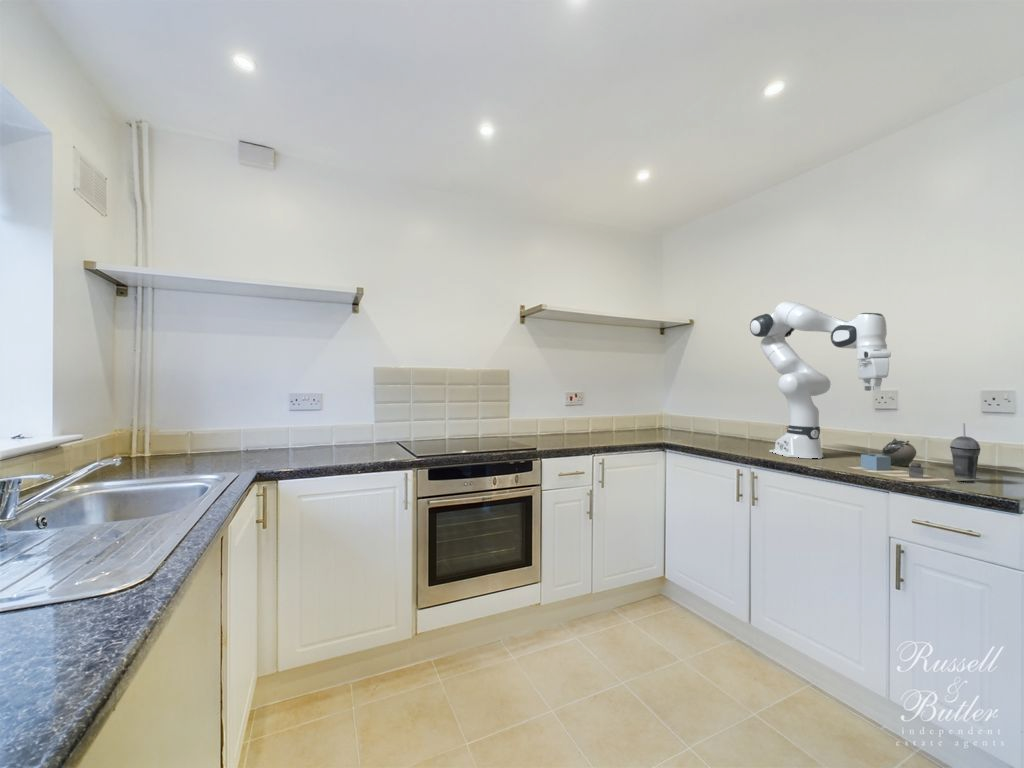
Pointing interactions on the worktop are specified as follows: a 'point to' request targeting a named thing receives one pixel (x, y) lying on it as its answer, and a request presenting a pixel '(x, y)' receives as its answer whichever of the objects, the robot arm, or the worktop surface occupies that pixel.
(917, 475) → the assembly board
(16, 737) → the worktop surface
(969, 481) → the beverage cup
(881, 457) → the collar
